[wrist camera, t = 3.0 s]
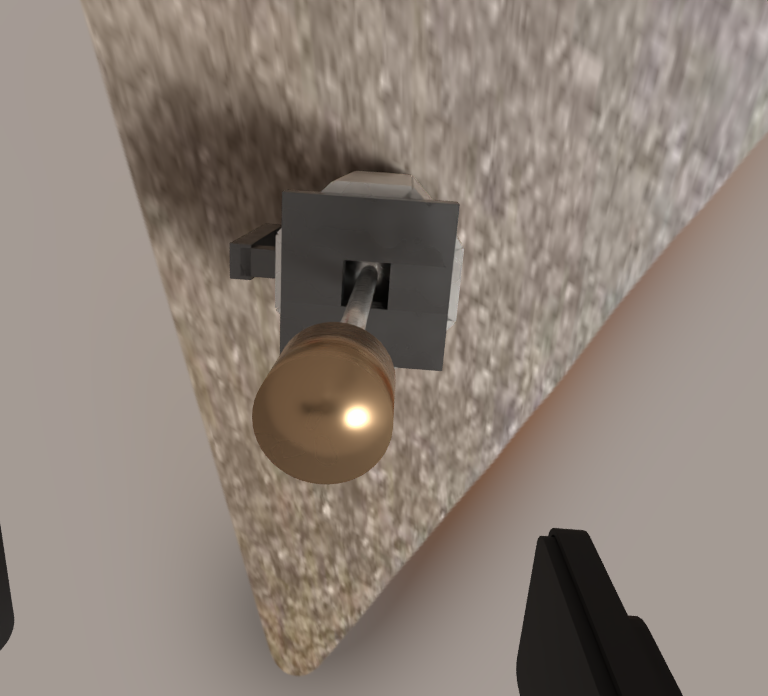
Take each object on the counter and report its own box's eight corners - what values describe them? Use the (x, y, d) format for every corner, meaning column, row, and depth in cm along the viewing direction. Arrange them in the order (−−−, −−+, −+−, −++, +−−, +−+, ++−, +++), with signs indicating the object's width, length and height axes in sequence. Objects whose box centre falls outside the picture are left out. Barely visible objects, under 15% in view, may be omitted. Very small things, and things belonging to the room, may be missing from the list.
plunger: (434, 215, 33) (466, 306, 14) (423, 332, 35) (438, 542, 16) (313, 207, 33) (189, 285, 14) (309, 323, 35) (197, 522, 16)
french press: (451, 176, 44) (473, 192, 29) (438, 308, 47) (452, 382, 32) (275, 164, 44) (208, 173, 29) (274, 295, 47) (212, 363, 32)
